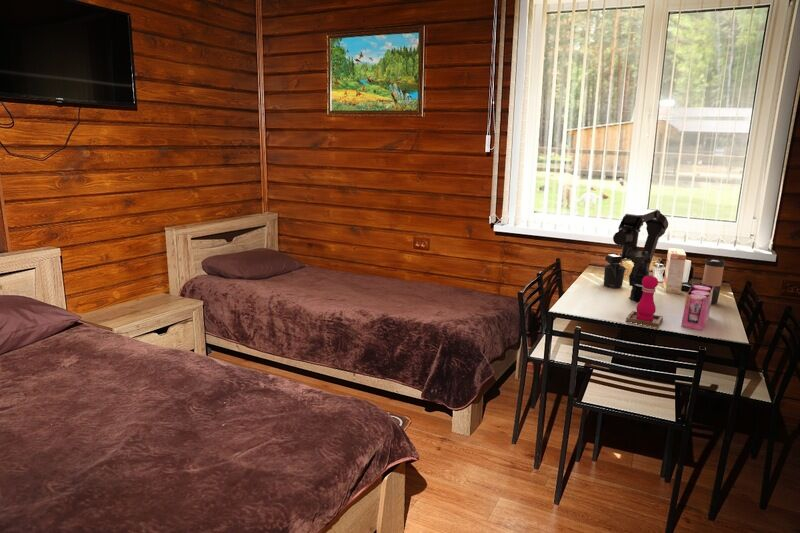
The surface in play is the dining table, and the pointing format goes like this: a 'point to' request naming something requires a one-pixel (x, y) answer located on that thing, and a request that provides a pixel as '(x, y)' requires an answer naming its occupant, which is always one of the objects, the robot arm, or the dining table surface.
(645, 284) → the pepper mill
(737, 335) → the dining table surface
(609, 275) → the pen holder
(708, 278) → the travel mug
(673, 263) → the coffeecake box
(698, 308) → the gum box
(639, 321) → the walnut tray
